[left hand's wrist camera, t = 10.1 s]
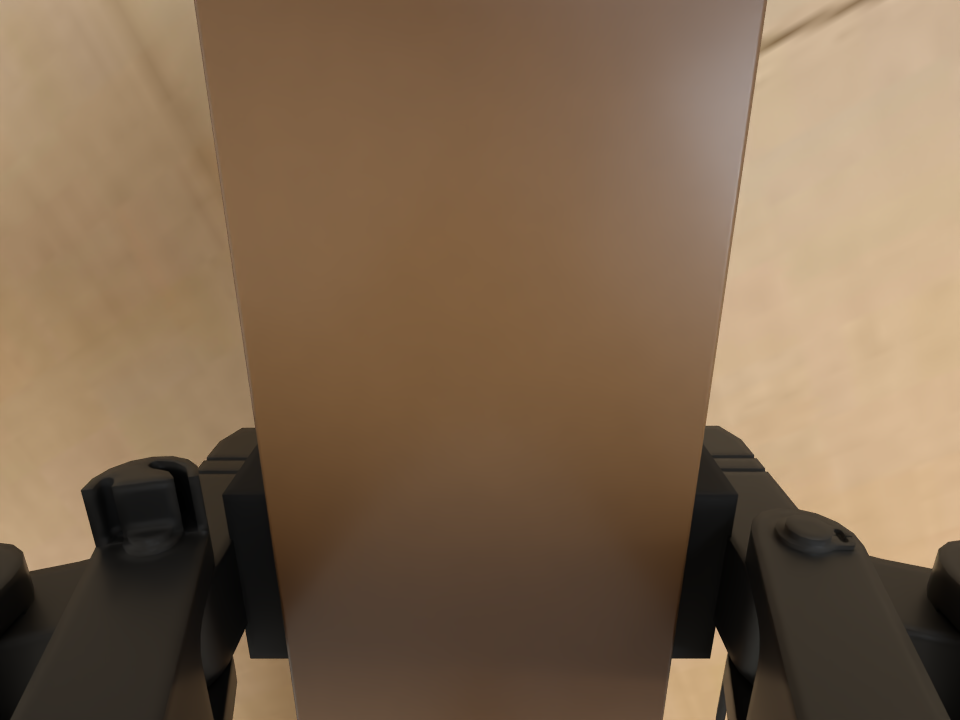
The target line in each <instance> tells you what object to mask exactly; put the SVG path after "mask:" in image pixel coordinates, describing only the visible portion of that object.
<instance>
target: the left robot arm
mask: <svg viewBox="0 0 960 720" xmlns="http://www.w3.org/2000/svg"><path fill="white" fill-rule="evenodd" d="M81 493H82V496H83V500H84V504H85V507H86V511H87V515H88V519H89V522H90V526H91V530H92V534H93V537H94V541H95V545H96V548H95V550H94V552H93V554H92V556H91V558H90V559H88V560H84V561H80V562H75V563H70V564H65V565H60V566H55V567H50V568H45V569H40V570H35V571H30V572H29V570H28V567H27V564H26V560H25V557H24V554H23V552H22V551H21V550H20V549H18V548H17V547H16V546H14V545H11V544H4V543H0V720H232V719H233V711H234V703H235V695H236V687H237V677H236V670H235V665H234V659H233V654H234V652H235V649H236V647H237V645H238V643H239V641H240V639H241V637H242V634H243V632H244V630H246V636H247V641H248V647H249V653H250V658H288V651H287V644H286V637H285V630H284V623H283V616H282V609H281V602H280V595H279V588H278V581H277V574H276V567H275V560H274V553H273V546H272V539H271V532H270V525H269V518H268V511H267V505H266V498H265V491H264V484H263V477H262V470H261V463H260V456H259V449H258V442H257V435H256V428H241V429H240V430H238V431H236V432H235V433H233V434H231V435H230V436H228V437H226V438H225V439H223V440H222V441H220V442H219V443H218V444H217V446H216V447H215V448H214V449H213V451H212V452H211V453H210V454H209V455H208V457H207V461H204V462H203V463H202V464H201V465H200V466H199V468H198V467H197V465H195V464H194V463H192V462H191V461H190V460H188V459H184V458H179V457H174V456H164V457H149V458H144V459H139V460H134V461H130V462H127V463H124V464H122V465H119V466H116V467H113V468H111V469H109V470H107V471H105V472H103V473H102V474H100V475H98V476H96V477H95V478H93V479H92V480H91V481H90V482H89V483H88V484H87V485H86V486H85V487H84V488H83V489H82V490H81ZM715 627H716V628H717V630H718V632H719V634H720V637H721V639H722V641H723V643H724V645H725V647H726V649H727V652H728V654H727V659H726V665H725V670H724V675H723V681H722V686H721V691H720V697H719V702H718V708H717V714H716V720H725V716H726V711H727V718H728V720H960V540H959V541H952V542H948V543H946V544H945V545H944V546H942V547H941V548H940V549H939V550H938V553H937V556H936V559H935V562H934V566H933V569H930V568H925V567H920V566H915V565H910V564H905V563H900V562H894V561H889V560H884V559H880V558H876V557H872V556H869V555H868V553H867V551H866V549H865V547H864V545H863V544H862V543H861V542H860V541H859V539H858V538H857V537H856V536H855V534H854V533H852V532H851V531H849V530H848V529H846V528H845V527H843V526H842V525H841V524H839V523H838V522H836V521H833V520H831V519H828V518H826V517H824V516H821V515H819V514H816V513H812V512H808V511H803V510H799V509H798V508H797V507H796V506H795V504H794V503H793V502H792V501H791V500H790V498H789V497H788V496H787V495H786V493H785V492H784V491H783V490H782V489H781V487H780V486H779V485H778V484H777V482H776V481H775V480H774V479H773V478H772V476H771V475H770V474H769V473H768V472H765V468H764V467H763V465H762V464H761V463H760V462H759V461H758V459H757V458H754V455H753V453H752V452H751V451H750V450H749V448H748V447H747V446H746V445H745V444H744V442H743V441H742V440H741V439H740V438H738V437H736V436H735V435H733V434H731V433H730V432H728V431H726V430H725V429H723V428H721V427H720V426H705V431H704V438H703V445H702V452H701V459H700V466H699V473H698V480H697V486H696V493H695V500H694V507H693V514H692V521H691V528H690V535H689V542H688V548H687V555H686V562H685V569H684V576H683V583H682V590H681V597H680V604H679V610H678V617H677V624H676V631H675V638H674V645H673V652H672V658H710V656H711V650H712V644H713V639H714V633H715Z"/></svg>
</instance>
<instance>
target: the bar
mask: <svg viewBox="0 0 960 720" xmlns="http://www.w3.org/2000/svg"><path fill="white" fill-rule="evenodd" d="M194 3H195V10H196V17H197V24H198V31H199V38H200V45H201V52H202V59H203V66H204V73H205V80H206V87H207V94H208V101H209V108H210V115H211V122H212V129H213V136H214V143H215V149H216V156H217V163H218V170H219V177H220V184H221V191H222V198H223V205H224V212H225V219H226V226H227V233H228V240H229V247H230V254H231V261H232V268H233V275H234V282H235V289H236V296H237V303H238V310H239V317H240V324H241V330H242V337H243V344H244V351H245V358H246V365H247V372H248V379H249V386H250V393H251V400H252V407H253V414H254V421H255V428H256V435H257V442H258V449H259V456H260V463H261V470H262V477H263V484H264V491H265V498H266V505H267V511H268V518H269V525H270V532H271V539H272V546H273V553H274V560H275V567H276V574H277V581H278V588H279V595H280V602H281V609H282V616H283V623H284V630H285V637H286V644H287V651H288V658H289V665H290V672H291V679H292V686H293V693H294V699H295V706H296V713H297V720H663V714H664V707H665V700H666V693H667V686H668V679H669V672H670V666H671V659H672V652H673V645H674V638H675V631H676V624H677V617H678V610H679V604H680V597H681V590H682V583H683V576H684V569H685V562H686V555H687V548H688V542H689V535H690V528H691V521H692V514H693V507H694V500H695V493H696V486H697V480H698V473H699V466H700V459H701V452H702V445H703V438H704V431H705V424H706V418H707V411H708V404H709V397H710V390H711V383H712V376H713V369H714V362H715V356H716V349H717V342H718V335H719V328H720V321H721V314H722V307H723V300H724V294H725V287H726V280H727V273H728V266H729V259H730V252H731V245H732V238H733V232H734V225H735V218H736V211H737V204H738V197H739V190H740V183H741V176H742V170H743V163H744V156H745V149H746V142H747V135H748V128H749V121H750V114H751V108H752V101H753V94H754V87H755V80H756V73H757V66H758V59H759V52H760V46H761V39H762V32H763V25H764V18H765V11H766V4H767V0H194Z"/></svg>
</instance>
